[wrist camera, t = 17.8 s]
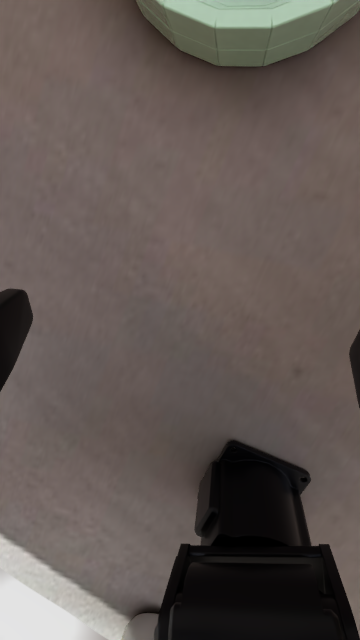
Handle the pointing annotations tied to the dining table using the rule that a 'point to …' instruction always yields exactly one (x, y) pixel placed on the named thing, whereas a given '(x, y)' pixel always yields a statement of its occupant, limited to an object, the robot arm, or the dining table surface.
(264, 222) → the dining table surface
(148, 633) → the metal bottle
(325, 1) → the bowl
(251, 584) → the robot arm
